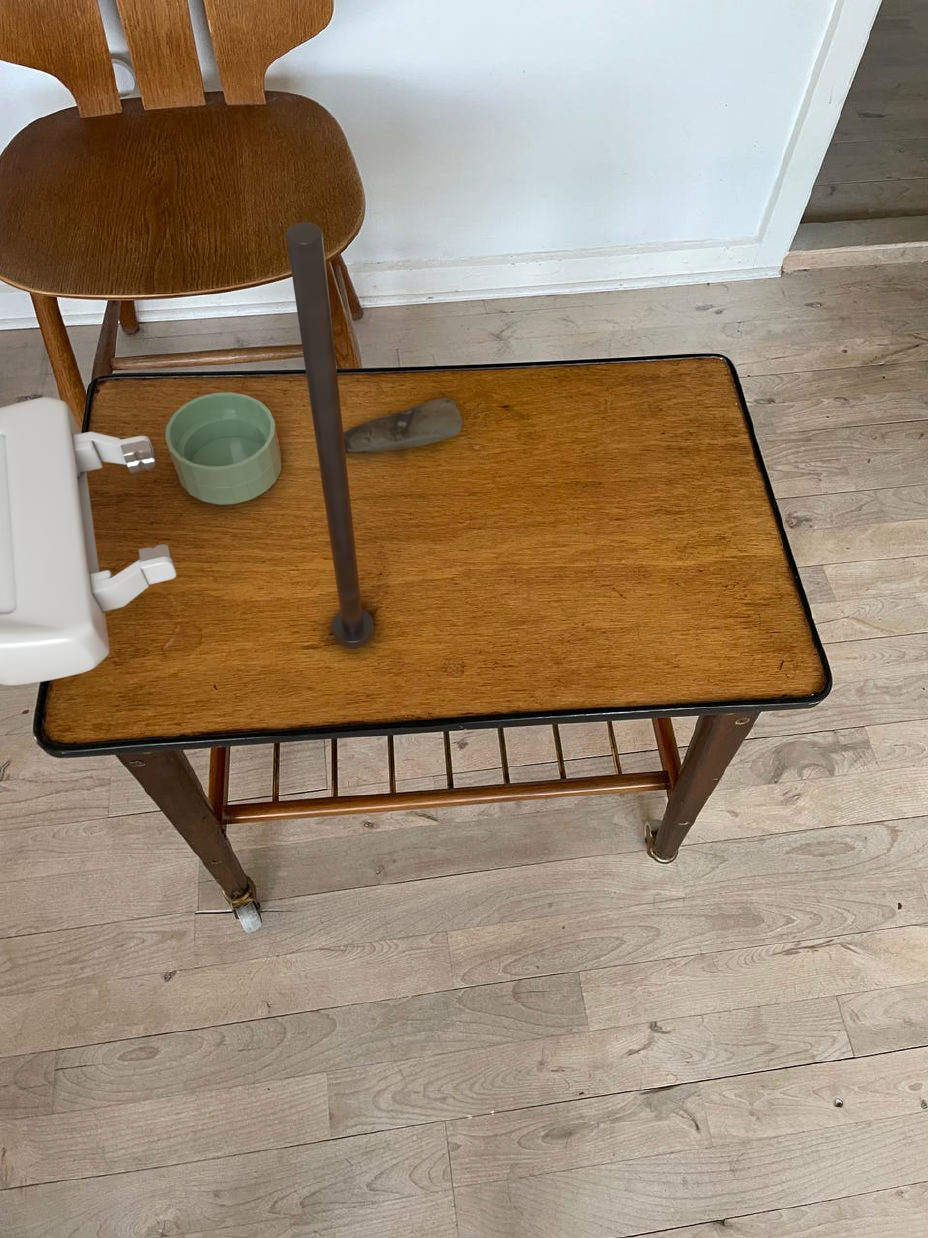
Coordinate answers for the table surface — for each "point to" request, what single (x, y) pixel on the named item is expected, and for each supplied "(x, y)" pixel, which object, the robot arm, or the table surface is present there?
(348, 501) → the stick
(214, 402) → the bowl
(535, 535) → the table surface
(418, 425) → the stone
